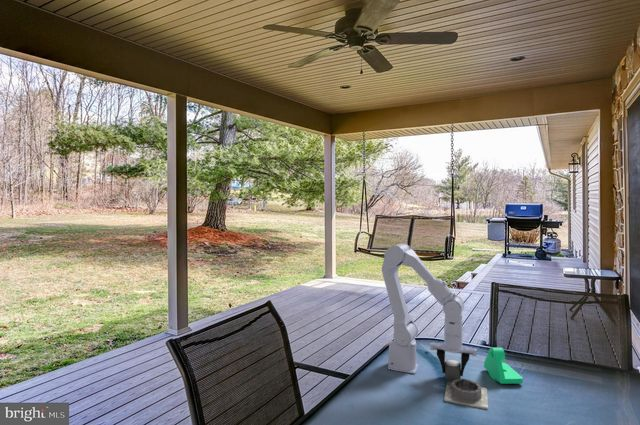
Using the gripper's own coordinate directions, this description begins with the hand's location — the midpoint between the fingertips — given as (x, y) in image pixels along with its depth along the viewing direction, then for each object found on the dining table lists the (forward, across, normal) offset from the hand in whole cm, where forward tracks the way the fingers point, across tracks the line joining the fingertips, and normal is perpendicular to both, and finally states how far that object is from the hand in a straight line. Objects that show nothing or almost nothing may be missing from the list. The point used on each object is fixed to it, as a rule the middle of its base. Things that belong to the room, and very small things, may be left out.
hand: (452, 373), depth 130 cm
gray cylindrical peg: (+2, 0, 0) cm, 2 cm away
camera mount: (+2, +16, +7) cm, 17 cm away
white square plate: (+2, +4, -10) cm, 12 cm away
